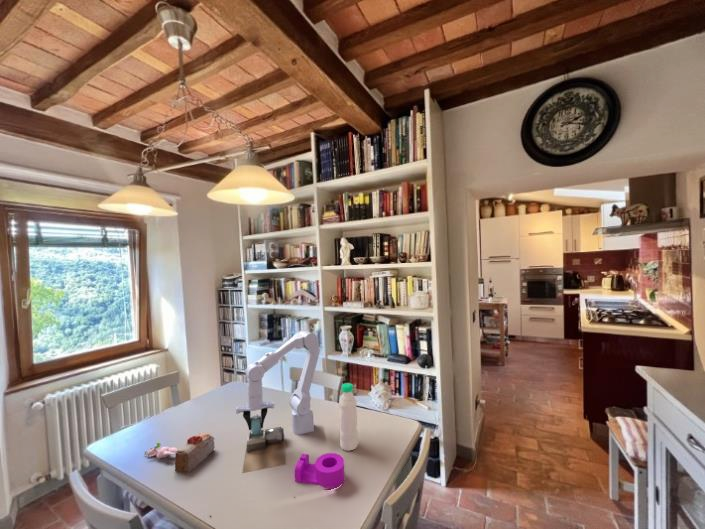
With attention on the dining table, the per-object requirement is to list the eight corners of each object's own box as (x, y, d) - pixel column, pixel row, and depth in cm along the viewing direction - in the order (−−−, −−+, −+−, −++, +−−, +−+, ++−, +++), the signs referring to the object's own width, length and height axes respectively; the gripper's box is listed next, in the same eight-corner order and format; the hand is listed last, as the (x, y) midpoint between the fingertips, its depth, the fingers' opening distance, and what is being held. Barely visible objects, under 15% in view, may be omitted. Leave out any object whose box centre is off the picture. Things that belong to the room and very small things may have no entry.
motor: (283, 435, 125) (283, 422, 125) (284, 445, 119) (283, 431, 118) (248, 442, 122) (247, 428, 122) (246, 452, 115) (246, 438, 115)
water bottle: (360, 443, 120) (358, 382, 120) (353, 453, 114) (351, 389, 114) (345, 439, 123) (343, 380, 123) (337, 449, 117) (335, 386, 117)
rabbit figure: (141, 462, 115) (169, 463, 110) (138, 447, 115) (167, 447, 111) (156, 452, 121) (183, 452, 116) (153, 437, 121) (181, 437, 117)
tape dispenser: (347, 472, 105) (346, 454, 105) (340, 493, 95) (340, 474, 95) (304, 467, 108) (304, 449, 108) (294, 487, 98) (293, 468, 98)
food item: (199, 450, 119) (198, 426, 119) (216, 452, 118) (215, 427, 118) (172, 474, 106) (171, 447, 106) (191, 477, 104) (191, 449, 104)
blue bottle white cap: (262, 428, 121) (262, 413, 121) (258, 434, 117) (258, 418, 117) (253, 428, 121) (253, 412, 121) (249, 434, 117) (248, 418, 117)
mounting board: (284, 436, 127) (284, 433, 127) (285, 467, 107) (285, 464, 107) (247, 443, 123) (247, 440, 123) (242, 476, 104) (242, 472, 104)
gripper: (273, 387, 125) (274, 419, 125) (237, 392, 121) (238, 425, 121) (273, 395, 118) (274, 428, 118) (234, 400, 114) (236, 435, 114)
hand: (256, 427), depth 119 cm, fingers closed on blue bottle white cap, 4 cm apart
